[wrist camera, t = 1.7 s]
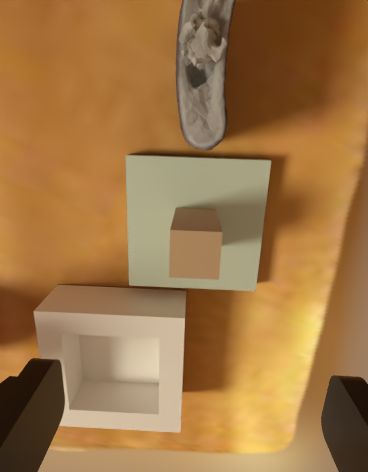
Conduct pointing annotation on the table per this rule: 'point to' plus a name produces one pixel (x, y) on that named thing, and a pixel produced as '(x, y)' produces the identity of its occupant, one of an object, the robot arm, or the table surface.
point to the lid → (195, 221)
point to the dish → (116, 354)
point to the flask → (203, 70)
